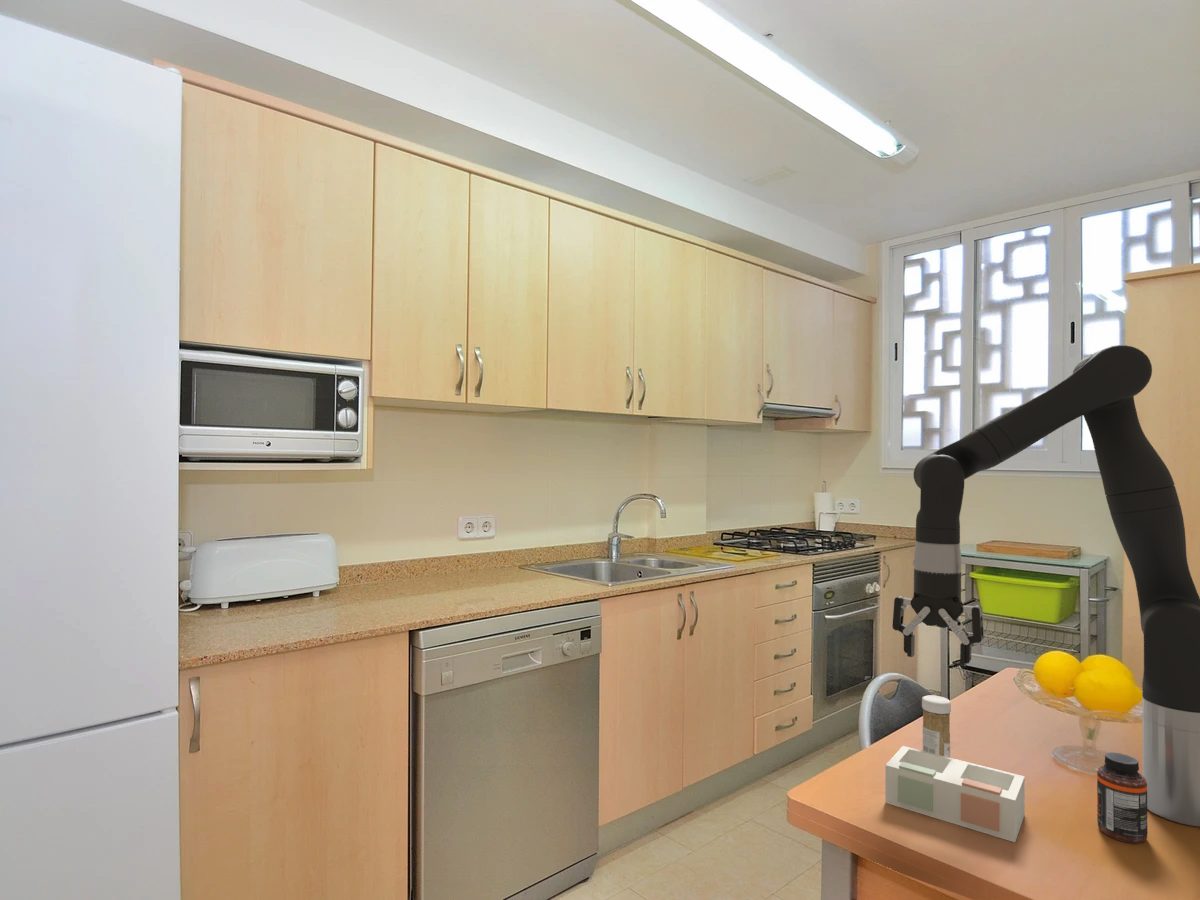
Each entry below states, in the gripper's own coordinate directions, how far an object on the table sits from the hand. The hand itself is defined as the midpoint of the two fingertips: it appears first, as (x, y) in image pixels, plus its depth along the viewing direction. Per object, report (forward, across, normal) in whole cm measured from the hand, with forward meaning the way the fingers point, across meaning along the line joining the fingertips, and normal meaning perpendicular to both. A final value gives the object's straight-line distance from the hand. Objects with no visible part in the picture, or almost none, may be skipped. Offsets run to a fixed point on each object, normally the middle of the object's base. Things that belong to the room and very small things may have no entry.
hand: (936, 660), depth 121 cm
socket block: (+20, -5, +11) cm, 23 cm away
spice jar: (+20, 0, 0) cm, 20 cm away
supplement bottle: (+20, -26, +3) cm, 33 cm away
